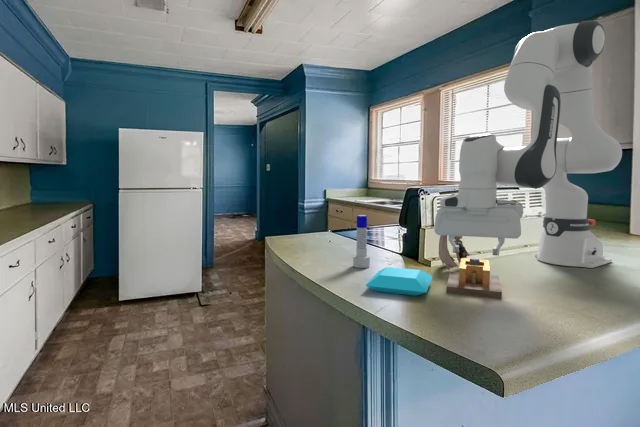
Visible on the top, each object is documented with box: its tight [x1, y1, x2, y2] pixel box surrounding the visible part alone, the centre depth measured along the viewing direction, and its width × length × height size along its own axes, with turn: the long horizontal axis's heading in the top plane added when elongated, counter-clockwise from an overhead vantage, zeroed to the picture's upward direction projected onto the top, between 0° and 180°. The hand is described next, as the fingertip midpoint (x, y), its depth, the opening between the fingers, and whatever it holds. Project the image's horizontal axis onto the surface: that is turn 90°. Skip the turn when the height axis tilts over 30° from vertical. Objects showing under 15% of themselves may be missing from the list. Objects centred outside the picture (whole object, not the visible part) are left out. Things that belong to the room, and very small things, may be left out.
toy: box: [438, 235, 471, 271], centre depth 115 cm, size 9×8×15 cm
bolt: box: [352, 214, 371, 269], centre depth 117 cm, size 16×5×5 cm
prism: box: [365, 266, 433, 296], centre depth 96 cm, size 14×14×5 cm
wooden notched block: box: [458, 257, 491, 287], centre depth 98 cm, size 12×7×4 cm, turn 158°
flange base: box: [445, 258, 503, 299], centre depth 97 cm, size 15×12×6 cm
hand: (475, 253), depth 99 cm, fingers open, 8 cm apart
